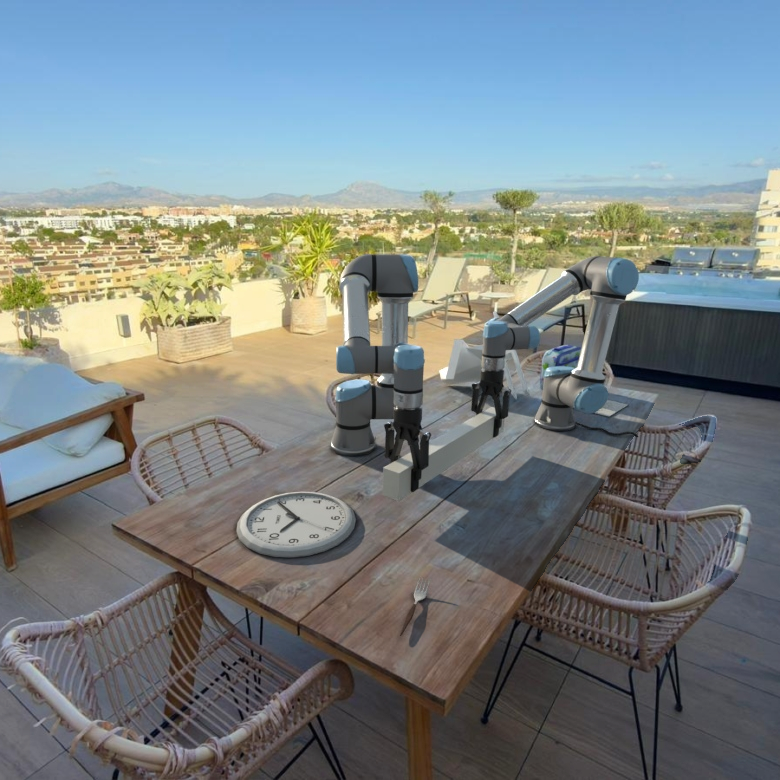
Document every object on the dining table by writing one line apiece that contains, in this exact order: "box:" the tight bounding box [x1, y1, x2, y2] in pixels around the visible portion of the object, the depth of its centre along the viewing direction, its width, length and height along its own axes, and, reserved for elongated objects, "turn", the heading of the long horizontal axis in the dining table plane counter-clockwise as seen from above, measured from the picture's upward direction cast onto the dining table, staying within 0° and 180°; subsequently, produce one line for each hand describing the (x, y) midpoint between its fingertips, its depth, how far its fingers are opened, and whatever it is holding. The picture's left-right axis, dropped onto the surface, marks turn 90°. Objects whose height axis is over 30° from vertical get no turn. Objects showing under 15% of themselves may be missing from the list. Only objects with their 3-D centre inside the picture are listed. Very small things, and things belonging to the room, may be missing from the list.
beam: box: [382, 406, 505, 502], centre depth 159 cm, size 63×5×8 cm, turn 143°
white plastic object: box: [438, 310, 531, 400], centre depth 245 cm, size 37×45×31 cm
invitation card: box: [594, 399, 629, 418], centre depth 226 cm, size 21×1×15 cm
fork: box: [399, 577, 431, 637], centre depth 104 cm, size 3×16×2 cm, turn 160°
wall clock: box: [236, 491, 357, 558], centre depth 134 cm, size 30×2×30 cm
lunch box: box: [539, 344, 582, 391], centre depth 246 cm, size 26×11×21 cm, turn 135°
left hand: (405, 486), depth 142 cm, fingers closed on beam, 5 cm apart
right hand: (487, 433), depth 179 cm, fingers closed on beam, 5 cm apart
